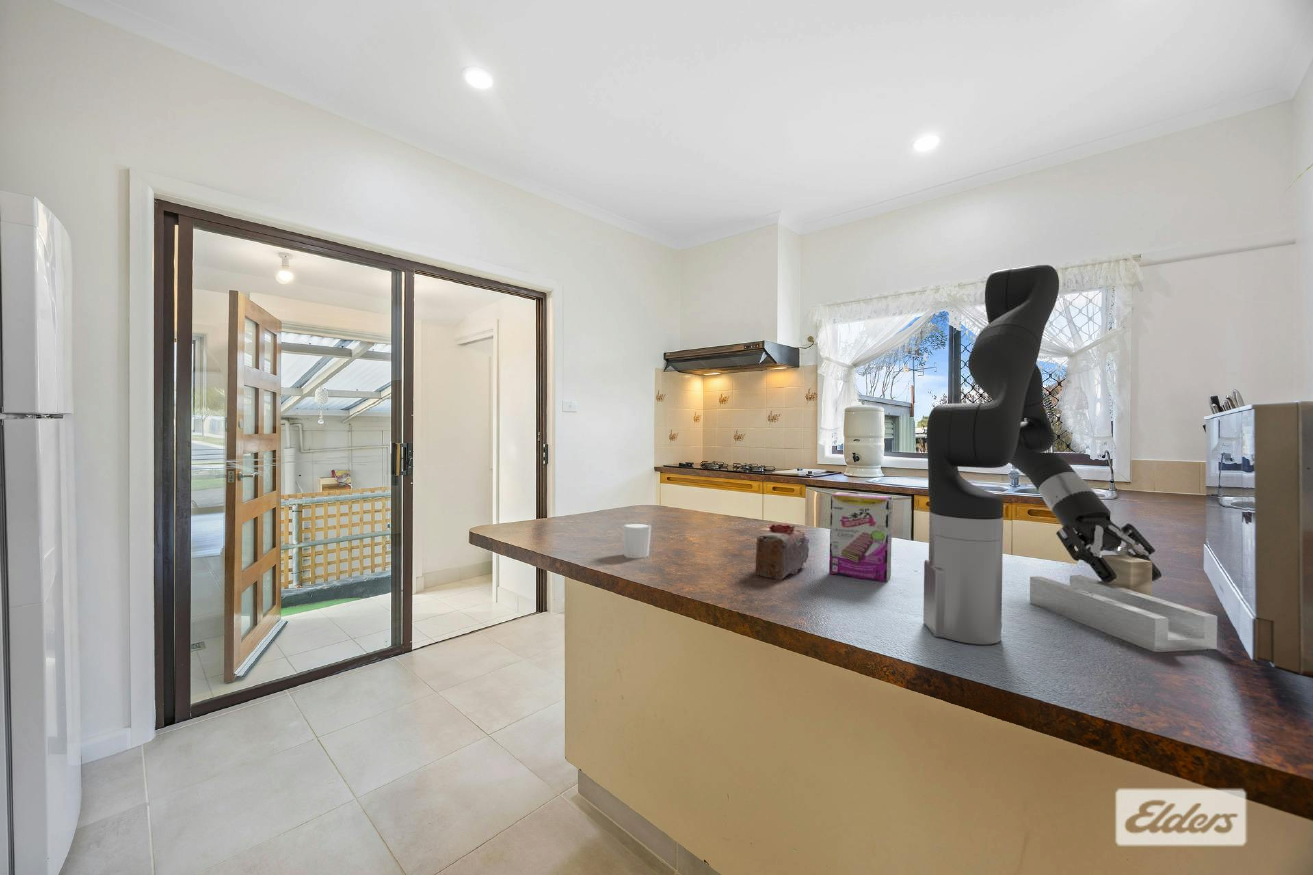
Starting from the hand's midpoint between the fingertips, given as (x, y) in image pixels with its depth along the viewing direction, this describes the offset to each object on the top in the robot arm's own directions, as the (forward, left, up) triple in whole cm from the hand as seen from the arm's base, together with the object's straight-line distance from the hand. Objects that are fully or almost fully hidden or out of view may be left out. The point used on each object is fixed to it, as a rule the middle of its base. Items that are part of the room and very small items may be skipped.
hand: (1133, 579), depth 87 cm
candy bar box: (-42, +9, -5) cm, 43 cm away
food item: (-57, +9, -5) cm, 58 cm away
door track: (-8, -9, -5) cm, 13 cm away
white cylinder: (-90, +14, -5) cm, 91 cm away
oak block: (0, +1, -5) cm, 5 cm away
